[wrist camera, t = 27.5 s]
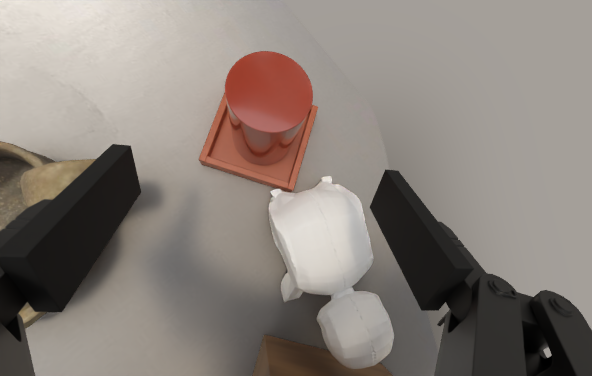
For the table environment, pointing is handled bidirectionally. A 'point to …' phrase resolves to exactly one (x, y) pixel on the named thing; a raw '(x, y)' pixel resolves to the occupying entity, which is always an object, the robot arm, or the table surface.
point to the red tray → (227, 159)
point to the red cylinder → (266, 105)
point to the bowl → (31, 189)
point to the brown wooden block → (304, 361)
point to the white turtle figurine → (332, 268)
